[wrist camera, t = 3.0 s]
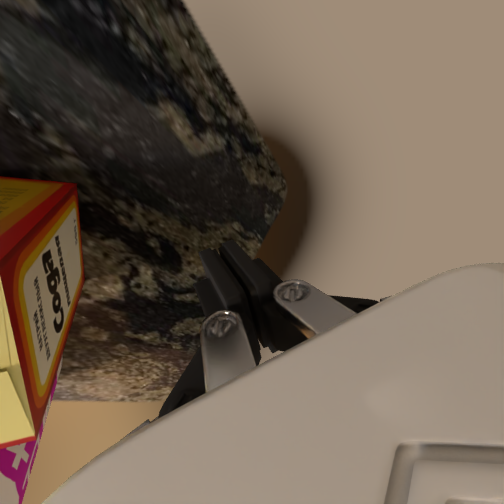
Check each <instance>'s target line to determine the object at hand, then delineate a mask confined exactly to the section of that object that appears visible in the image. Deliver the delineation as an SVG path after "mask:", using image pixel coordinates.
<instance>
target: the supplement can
mask: <svg viewBox="0 0 504 504" xmlns="http://www.w3.org/2000/svg"><path fill="white" fill-rule="evenodd" d="M61 367H62V358H61V361H60V364H59V368H58V371H57V374H56V378H55V381H54V384H53V387H52V391H51V394H50V397H49V401H48V404H47V407H46V411H45V414H44V417H43V421H42V424H41V427H40V431H39V434H38V437H37V440H34V441H30V442H26V443H23V444H19V445H15V446H11V447H7V448H3V449H0V504H22V500H23V497H24V493H25V490H26V486H27V483H28V480H29V476H30V473H31V469H32V466H33V463H34V459H35V456H36V452H37V449H38V445H39V442H40V439H41V435H42V432H43V428H44V425H45V422H46V418H47V415H48V411H49V408H50V404H51V401H52V397H53V394H54V391H55V387H56V384H57V380H58V377H59V373H60V370H61Z"/></svg>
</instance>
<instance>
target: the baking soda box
mask: <svg viewBox="0 0 504 504" xmlns="http://www.w3.org/2000/svg"><path fill="white" fill-rule="evenodd" d="M84 281H85V276H84V264H83V253H82V241H81V229H80V217H79V206H78V194H77V183H66V182H55V181H44V180H33V179H22V178H12V177H1V176H0V449H3V448H7V447H11V446H15V445H19V444H23V443H26V442H30V441H34V440H37V437H38V434H39V431H40V427H41V424H42V421H43V417H44V414H45V411H46V407H47V404H48V401H49V397H50V394H51V391H52V387H53V384H54V381H55V378H56V374H57V371H58V368H59V364H60V361H61V358H62V354H63V351H64V348H65V344H66V341H67V338H68V334H69V331H70V328H71V325H72V321H73V318H74V315H75V311H76V308H77V305H78V301H79V298H80V295H81V291H82V288H83V285H84Z"/></svg>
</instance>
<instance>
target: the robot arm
mask: <svg viewBox="0 0 504 504" xmlns="http://www.w3.org/2000/svg"><path fill="white" fill-rule="evenodd" d="M219 253H220V255H219V254H218V252H217V251H216V249H214V250H211V249H210V248H208V249H206V250H203V251H200V252H199V256H200V259H201V261H202V264H203V267H204V270H205V273H206V276H207V279H204V280H202V281H199V282H197V283H194V284H193V286H194V288H195V291H196V293H197V296H198V298H199V301H200V304H201V306H202V309H203V311H204V314H205V316H206V318H205V319H204V320H203V322H202V324H201V326H200V339H201V346H200V347H199V349H198V351H197V352H196V354H195V355H194V357H193V358H192V360H191V362H190V363H189V365H188V366H187V368H186V369H185V371H184V373H183V374H182V376H181V377H180V379H179V380H178V382H177V384H176V385H175V387H174V388H173V390H172V391H171V393H170V394H169V396H168V398H167V399H166V401H165V402H164V404H163V406H162V408H161V410H160V412H159V416H158V417H156V418H155V419H154V420H153V421H151V422H150V421H149V419H148V420H146V421H145V422H144V423H142V424H141V425H140V426H139V427H137V428H136V429H134V430H133V431H132V432H130V433H129V434H128V435H126V436H125V437H124V438H123V439H121V440H120V441H119V442H117V443H116V444H114V445H113V446H111V447H110V448H108V449H107V450H105V451H104V452H102V453H101V454H99V455H98V456H96V457H95V458H93V459H92V460H91V461H90V462H89V463H87V464H86V465H85V466H83V467H82V468H81V469H79V470H78V471H77V472H76V473H74V474H73V475H72V476H70V478H68V479H67V480H66V481H65V482H64V483H63V484H62V485H61V486H60V487H59V488H58V489H56V490H55V491H54V492H53V493H52V494H51V495H50V496H49V497H48V498H46V500H44V501H43V502H42V504H504V264H503V263H486V264H477V265H470V266H464V267H460V268H456V269H452V270H449V271H446V272H443V273H441V274H438V275H435V276H433V277H431V278H429V279H427V280H424V281H422V282H420V283H418V284H416V285H413V286H411V287H409V288H407V289H405V290H403V291H402V292H399V293H397V294H395V295H393V296H389V297H386V298H382V299H380V302H378V301H375V300H369V299H361V298H351V297H340V296H329V295H327V294H325V293H323V292H322V291H320V290H319V289H317V288H315V287H314V286H312V285H310V284H309V283H307V282H305V281H303V280H298V279H294V280H287V281H284V282H283V281H282V280H281V279H280V278H279V277H278V276H277V275H276V274H275V273H274V272H273V271H272V270H271V269H270V268H269V267H268V266H267V265H266V264H265V263H264V262H263V261H262V260H261V259H259V258H257V259H254V260H252V259H251V258H250V257H249V256H248V255H247V254H246V253H245V252H244V251H243V250H242V249H241V248H240V247H239V245H238V244H237V243H236V242H235V241H234V240H230V241H227V242H225V243H222V247H220V248H219ZM258 339H259V341H260V343H261V344H262V346H263V347H264V348H265V347H267V346H268V347H269V349H270V350H271V352H272V353H274V352H276V351H278V350H280V351H285V352H283V353H281V354H279V355H277V356H275V357H273V358H271V359H269V360H267V361H265V362H264V363H262V364H260V365H259V362H260V360H261V355H260V345H259V341H258Z"/></svg>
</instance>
